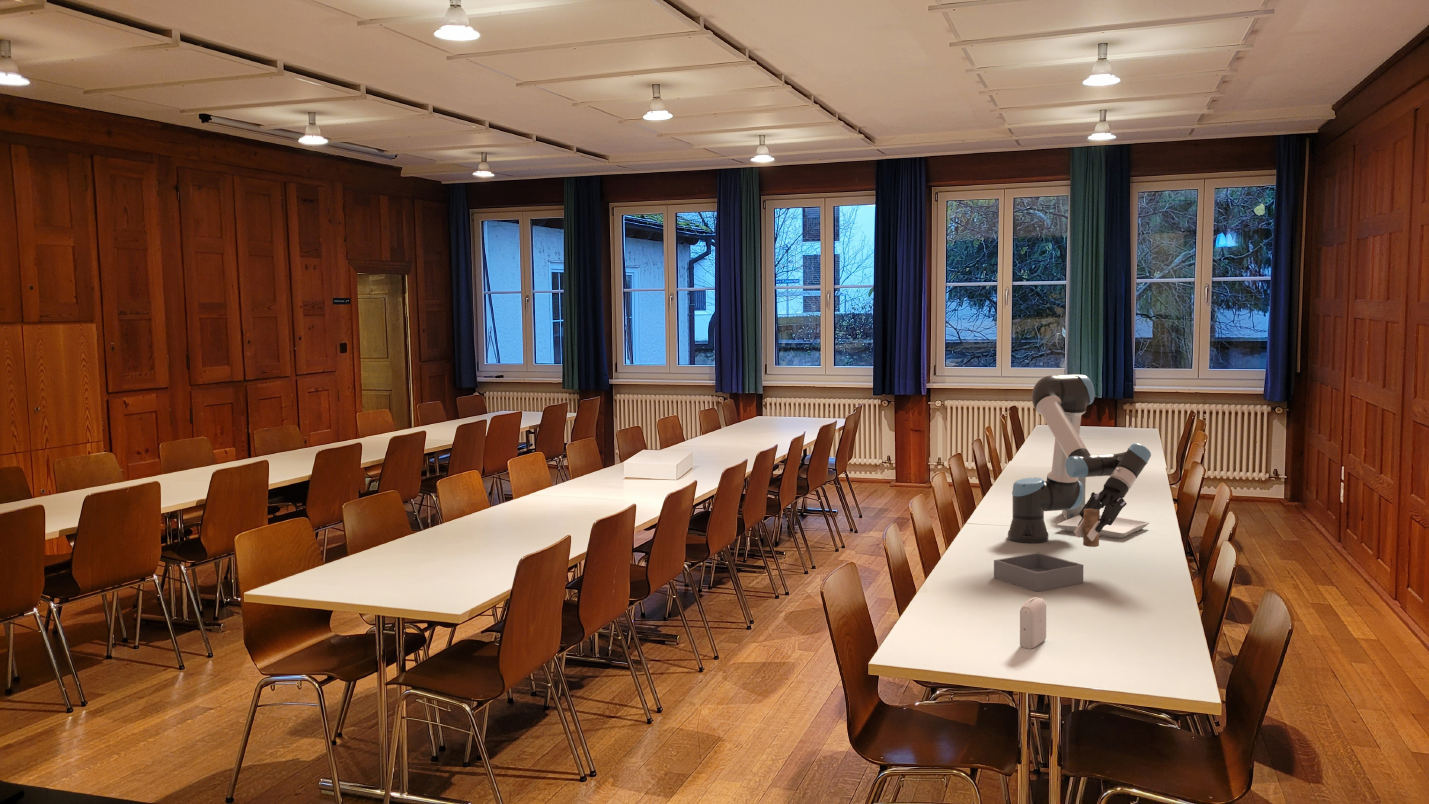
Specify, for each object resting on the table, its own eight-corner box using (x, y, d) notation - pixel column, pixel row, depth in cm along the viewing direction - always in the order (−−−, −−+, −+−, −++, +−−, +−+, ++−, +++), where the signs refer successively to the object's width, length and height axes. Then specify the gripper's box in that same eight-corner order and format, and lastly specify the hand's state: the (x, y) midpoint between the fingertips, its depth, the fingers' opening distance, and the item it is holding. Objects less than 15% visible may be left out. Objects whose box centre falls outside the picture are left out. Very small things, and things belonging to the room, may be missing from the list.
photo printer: (1033, 650, 272) (1033, 604, 271) (1017, 647, 275) (1017, 602, 274) (1048, 639, 280) (1048, 595, 279) (1033, 637, 283) (1033, 593, 282)
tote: (993, 577, 344) (993, 560, 343) (1038, 569, 353) (1038, 552, 352) (1037, 591, 326) (1037, 573, 325) (1083, 582, 335) (1083, 564, 334)
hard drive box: (1085, 520, 428) (1086, 473, 426) (1066, 520, 430) (1066, 473, 428) (1080, 513, 443) (1080, 467, 441) (1061, 513, 445) (1061, 467, 443)
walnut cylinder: (1079, 544, 345) (1080, 509, 344) (1090, 542, 348) (1091, 507, 346) (1091, 547, 341) (1092, 512, 340) (1102, 545, 343) (1102, 510, 342)
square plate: (1124, 542, 390) (1124, 532, 390) (1055, 533, 409) (1055, 523, 409) (1150, 529, 410) (1150, 520, 410) (1083, 521, 429) (1083, 512, 428)
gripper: (1093, 472, 354) (1057, 524, 349) (1135, 480, 338) (1098, 535, 333) (1103, 485, 357) (1068, 538, 352) (1146, 494, 341) (1110, 549, 336)
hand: (1083, 536), depth 342 cm, fingers closed on walnut cylinder, 5 cm apart
